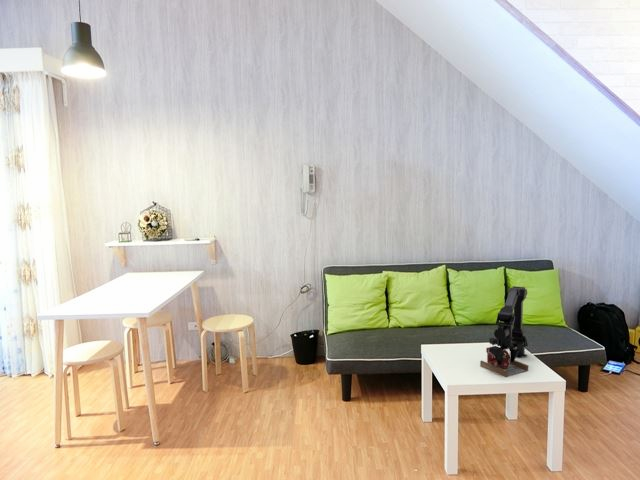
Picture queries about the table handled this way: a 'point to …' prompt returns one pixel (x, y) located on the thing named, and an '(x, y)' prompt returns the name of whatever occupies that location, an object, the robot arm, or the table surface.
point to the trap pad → (514, 371)
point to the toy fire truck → (492, 360)
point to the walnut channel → (500, 370)
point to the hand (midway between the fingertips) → (505, 363)
